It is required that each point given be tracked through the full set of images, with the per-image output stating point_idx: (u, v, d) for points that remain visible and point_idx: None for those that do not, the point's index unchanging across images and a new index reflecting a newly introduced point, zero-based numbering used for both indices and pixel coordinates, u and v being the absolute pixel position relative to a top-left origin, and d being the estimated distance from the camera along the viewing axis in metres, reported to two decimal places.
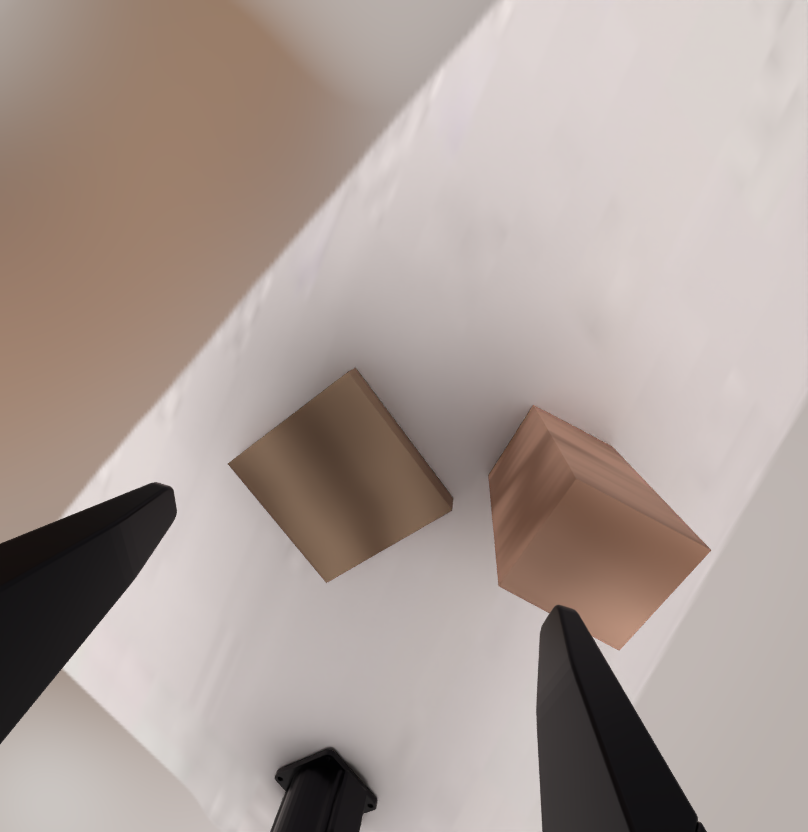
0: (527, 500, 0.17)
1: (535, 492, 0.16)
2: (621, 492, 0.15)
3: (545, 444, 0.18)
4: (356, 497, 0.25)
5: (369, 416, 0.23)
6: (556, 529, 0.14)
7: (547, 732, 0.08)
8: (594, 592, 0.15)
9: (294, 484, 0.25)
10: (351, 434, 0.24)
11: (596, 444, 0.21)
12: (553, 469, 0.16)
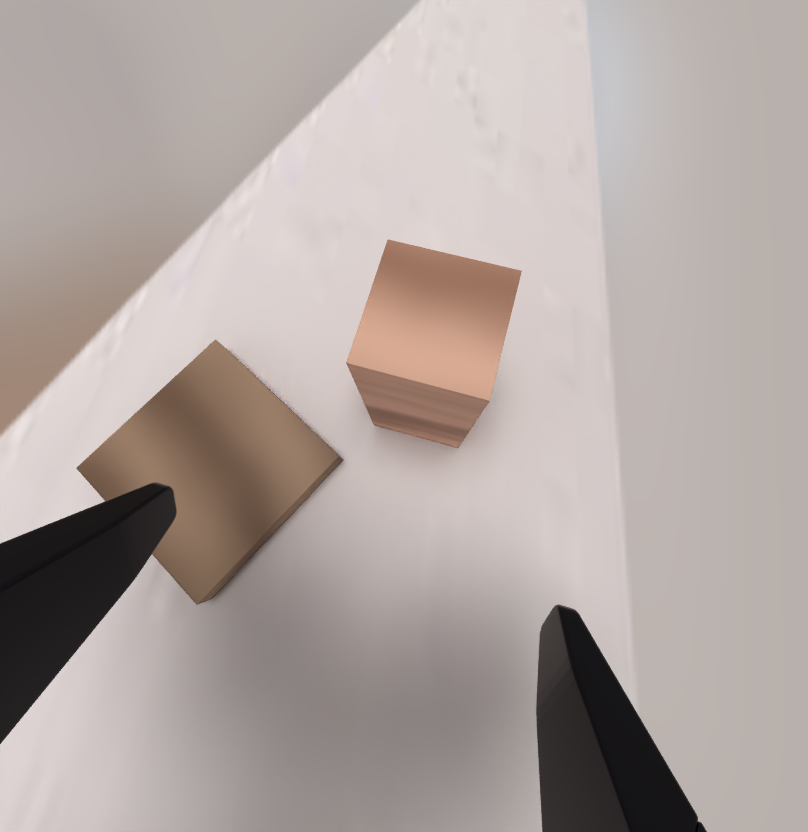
0: None
1: None
2: None
3: None
4: (230, 469, 0.22)
5: (239, 376, 0.23)
6: (384, 288, 0.15)
7: (547, 732, 0.08)
8: (441, 341, 0.14)
9: (157, 472, 0.22)
10: (221, 399, 0.23)
11: None
12: None
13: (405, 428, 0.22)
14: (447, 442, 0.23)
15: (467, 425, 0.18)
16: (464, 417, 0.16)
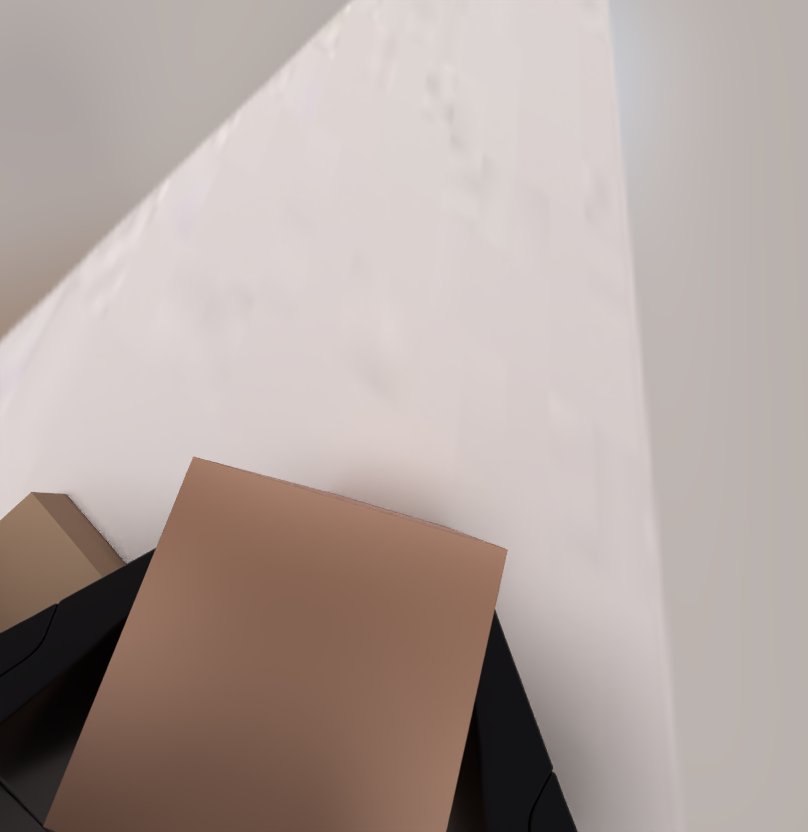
0: None
1: None
2: (340, 499, 0.07)
3: None
4: None
5: (62, 557, 0.14)
6: (171, 592, 0.06)
7: None
8: (296, 761, 0.05)
9: None
10: (30, 597, 0.14)
11: None
12: None
13: None
14: None
15: None
16: None
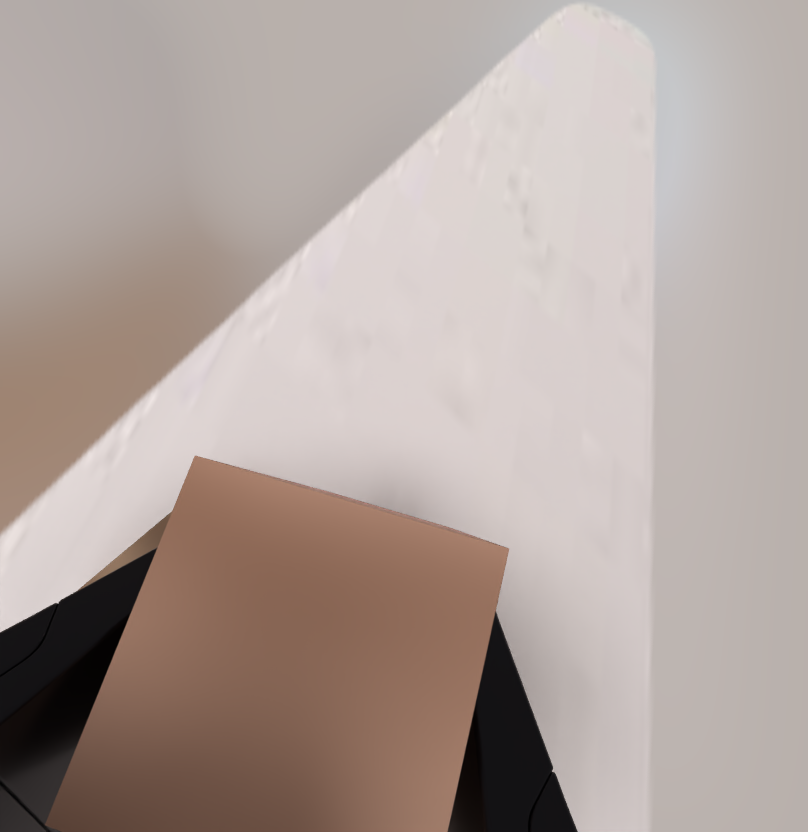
0: None
1: None
2: (341, 498, 0.07)
3: None
4: None
5: None
6: (173, 591, 0.06)
7: None
8: (298, 759, 0.05)
9: None
10: None
11: (408, 515, 0.14)
12: None
13: None
14: None
15: None
16: None
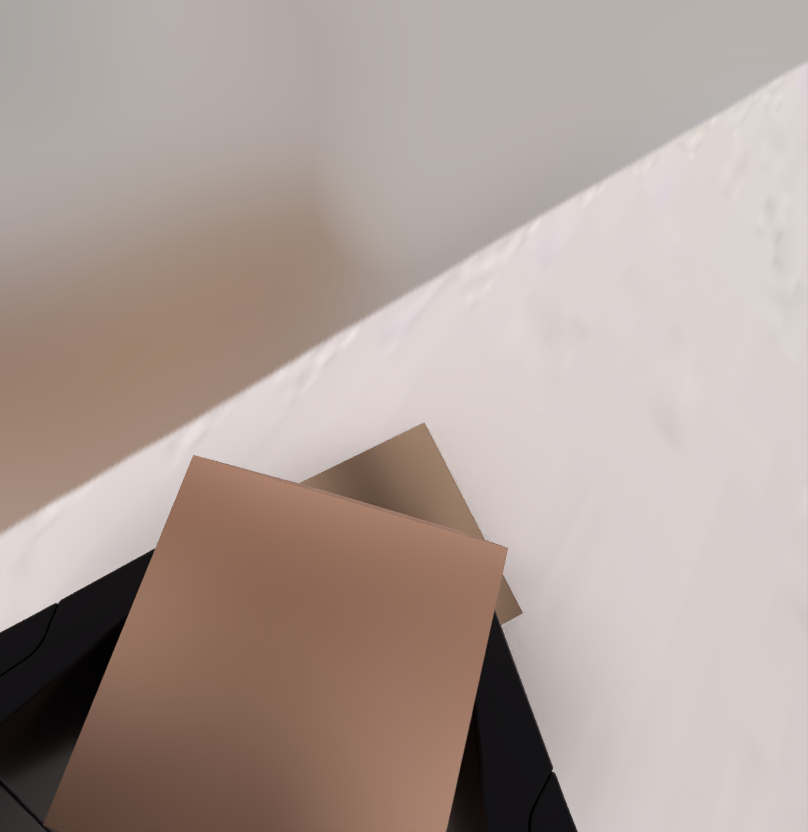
0: None
1: None
2: (340, 498, 0.07)
3: None
4: None
5: (438, 475, 0.20)
6: (171, 591, 0.06)
7: None
8: (296, 759, 0.05)
9: None
10: (412, 493, 0.20)
11: None
12: None
13: None
14: None
15: None
16: None
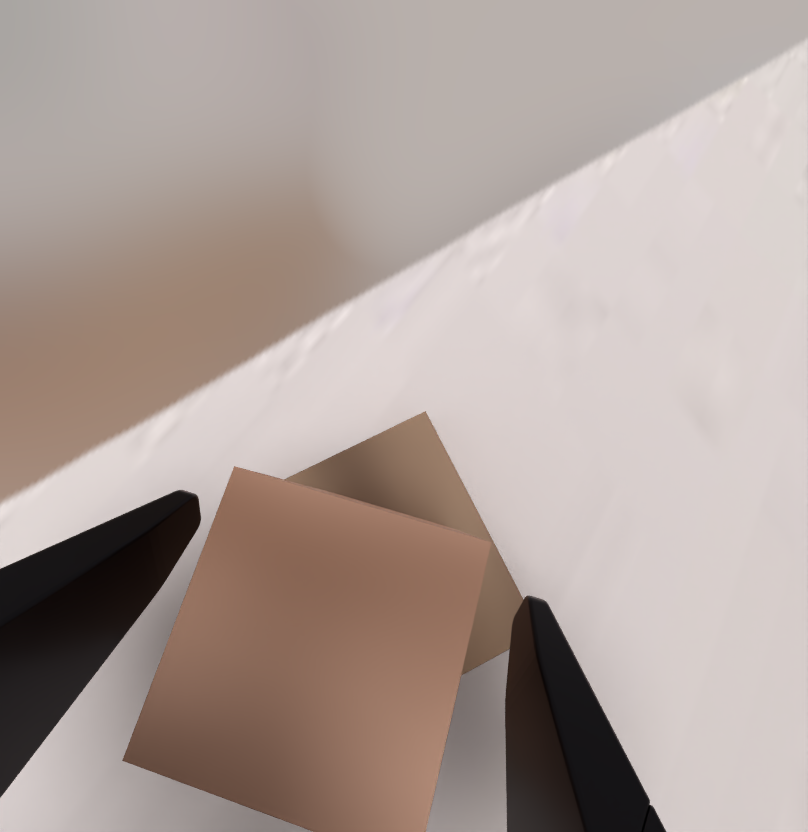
0: None
1: None
2: (353, 501, 0.09)
3: None
4: None
5: (441, 471, 0.18)
6: (219, 576, 0.07)
7: (513, 721, 0.08)
8: (322, 709, 0.07)
9: None
10: (412, 492, 0.17)
11: None
12: None
13: None
14: None
15: None
16: None
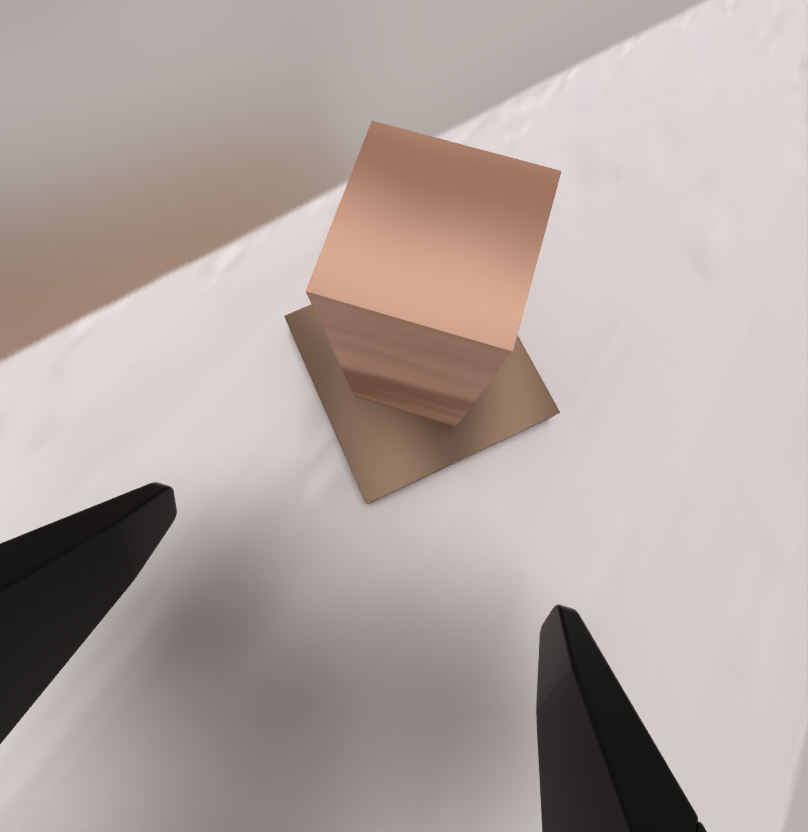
0: None
1: None
2: None
3: None
4: None
5: None
6: (365, 187, 0.10)
7: (547, 732, 0.08)
8: (444, 264, 0.10)
9: None
10: None
11: None
12: None
13: (392, 400, 0.18)
14: (443, 419, 0.18)
15: (472, 394, 0.13)
16: (470, 381, 0.12)
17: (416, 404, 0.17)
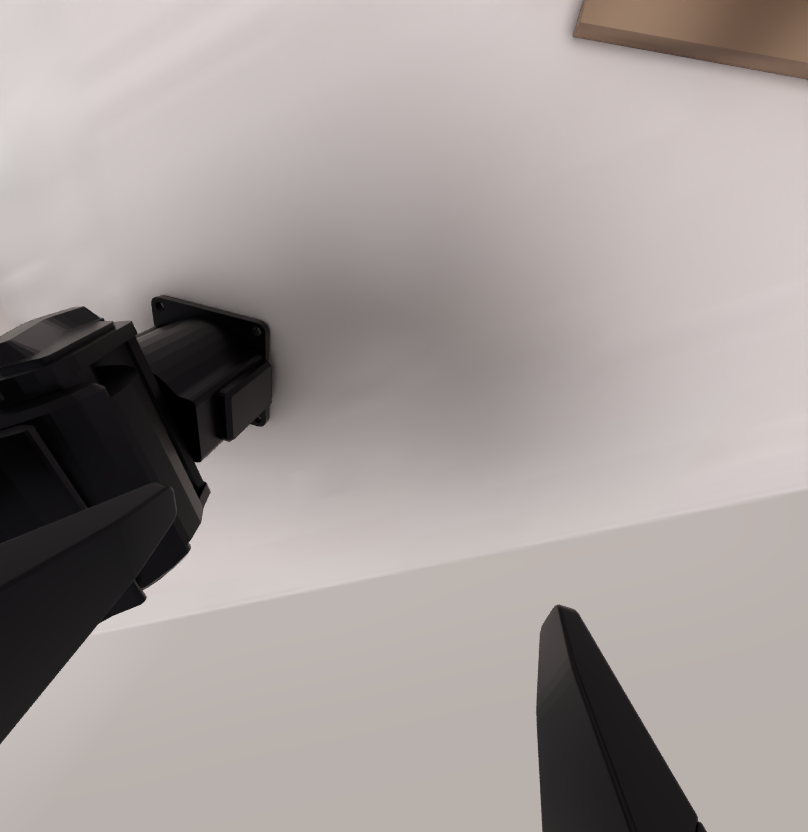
0: None
1: None
2: None
3: None
4: None
5: None
6: None
7: (547, 732, 0.08)
8: None
9: None
10: None
11: None
12: None
13: None
14: None
15: None
16: None
17: None
